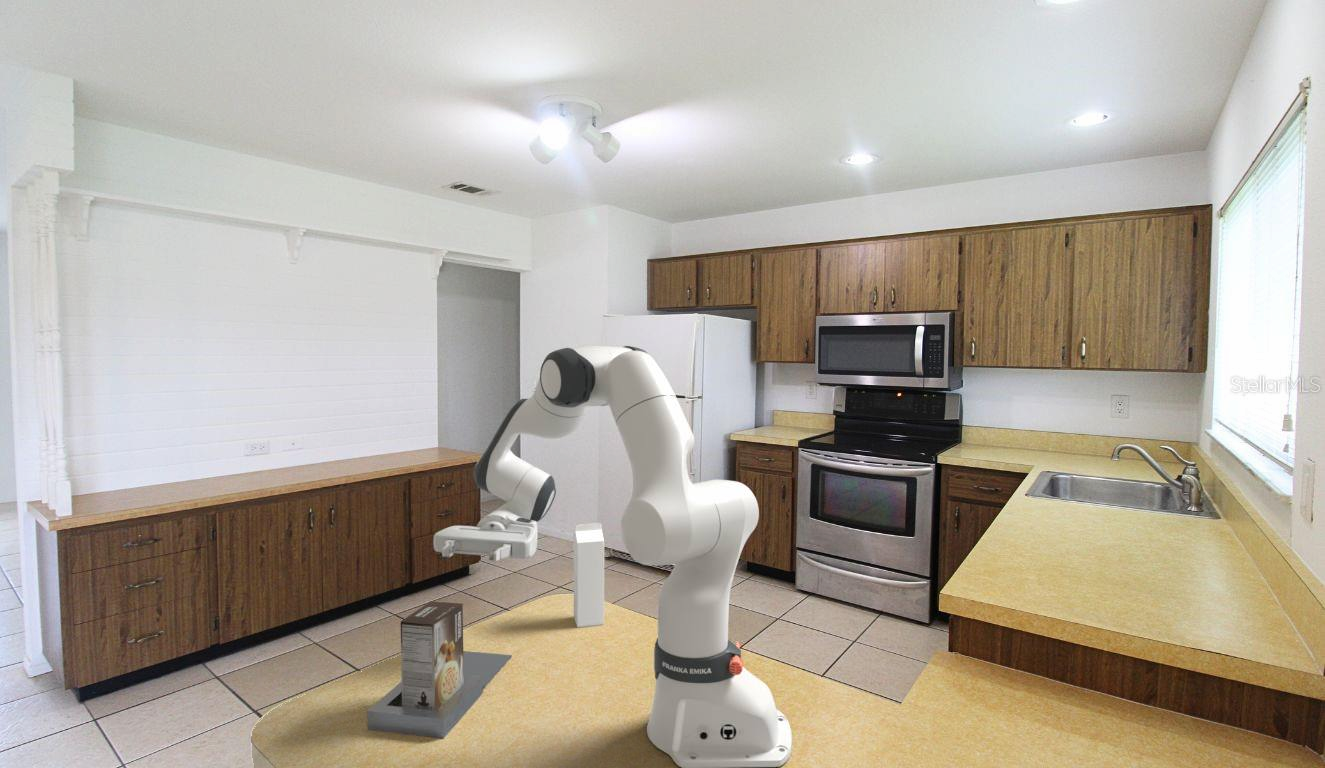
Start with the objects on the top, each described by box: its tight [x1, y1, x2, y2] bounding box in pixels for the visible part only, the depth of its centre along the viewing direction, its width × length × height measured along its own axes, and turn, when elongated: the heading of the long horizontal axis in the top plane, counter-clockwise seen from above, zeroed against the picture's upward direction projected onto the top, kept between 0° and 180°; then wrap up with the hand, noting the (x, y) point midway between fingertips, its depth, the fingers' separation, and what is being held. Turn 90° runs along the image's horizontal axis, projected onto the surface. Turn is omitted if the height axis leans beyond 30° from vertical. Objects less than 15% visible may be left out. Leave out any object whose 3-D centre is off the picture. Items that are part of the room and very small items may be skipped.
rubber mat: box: [463, 650, 513, 689], centre depth 118 cm, size 12×12×1 cm
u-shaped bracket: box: [366, 675, 484, 739], centre depth 104 cm, size 13×14×3 cm
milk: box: [573, 522, 605, 628], centre depth 140 cm, size 6×6×22 cm
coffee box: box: [400, 601, 464, 711], centre depth 106 cm, size 9×6×16 cm
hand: (468, 555), depth 118 cm, fingers open, 8 cm apart
